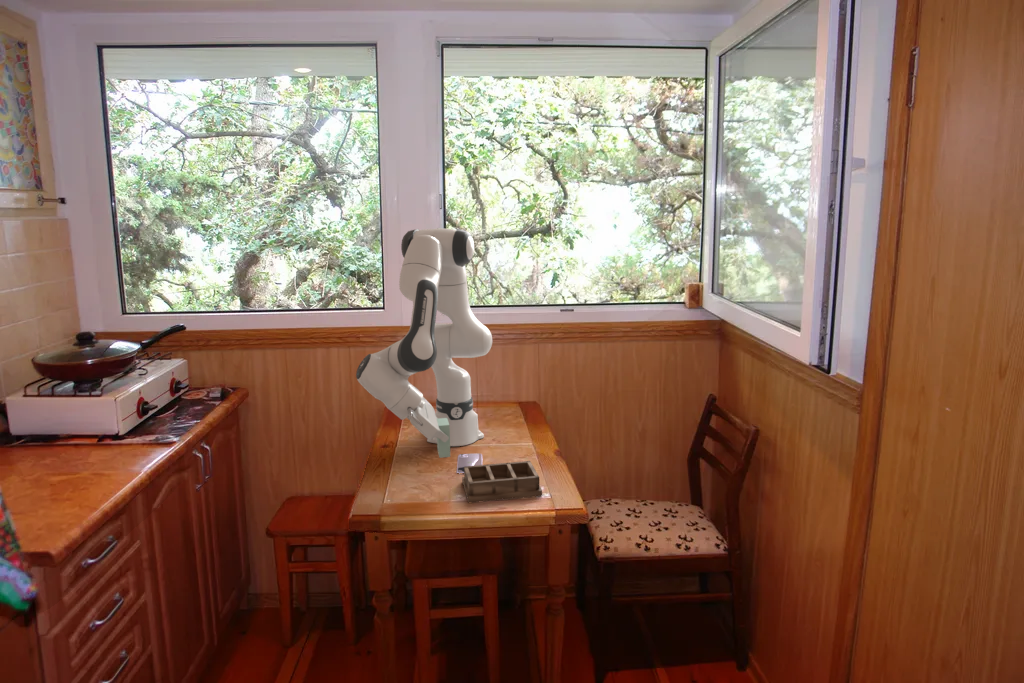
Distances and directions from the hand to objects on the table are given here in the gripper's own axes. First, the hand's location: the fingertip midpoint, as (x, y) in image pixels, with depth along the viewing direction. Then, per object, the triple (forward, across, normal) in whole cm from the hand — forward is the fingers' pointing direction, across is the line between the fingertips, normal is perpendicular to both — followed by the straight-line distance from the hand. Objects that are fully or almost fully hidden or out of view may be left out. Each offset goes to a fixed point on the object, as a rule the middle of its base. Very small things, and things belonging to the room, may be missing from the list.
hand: (445, 434), depth 194 cm
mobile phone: (+18, +18, +6) cm, 26 cm away
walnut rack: (+22, -2, +1) cm, 22 cm away
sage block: (+3, 0, +4) cm, 5 cm away
